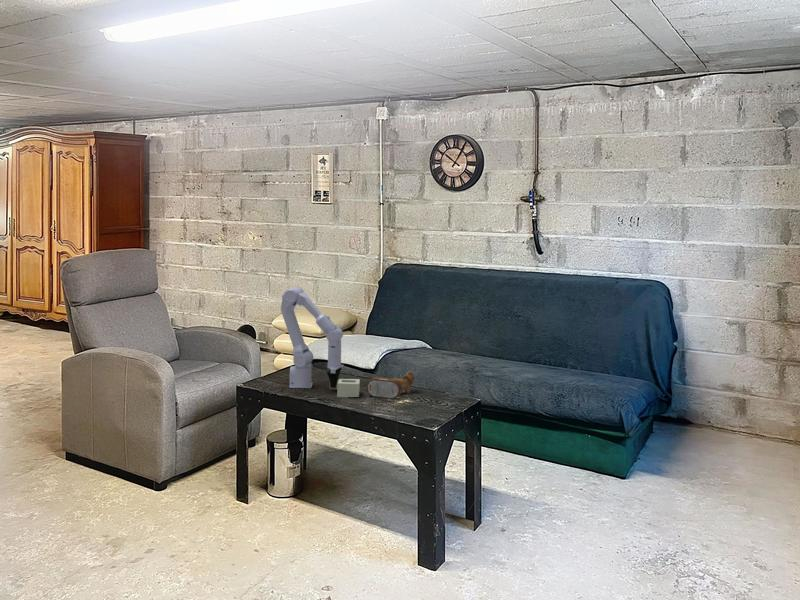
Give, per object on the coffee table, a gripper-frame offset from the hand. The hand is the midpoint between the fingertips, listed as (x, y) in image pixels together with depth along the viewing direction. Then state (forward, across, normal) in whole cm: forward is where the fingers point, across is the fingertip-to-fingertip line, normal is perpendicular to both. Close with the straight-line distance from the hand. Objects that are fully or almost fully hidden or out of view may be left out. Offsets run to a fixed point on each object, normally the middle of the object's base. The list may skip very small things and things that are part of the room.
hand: (334, 385), depth 310 cm
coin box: (+1, -10, -7) cm, 12 cm away
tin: (+2, -12, -22) cm, 25 cm away
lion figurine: (+2, -4, -29) cm, 30 cm away
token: (+2, 0, 0) cm, 2 cm away
